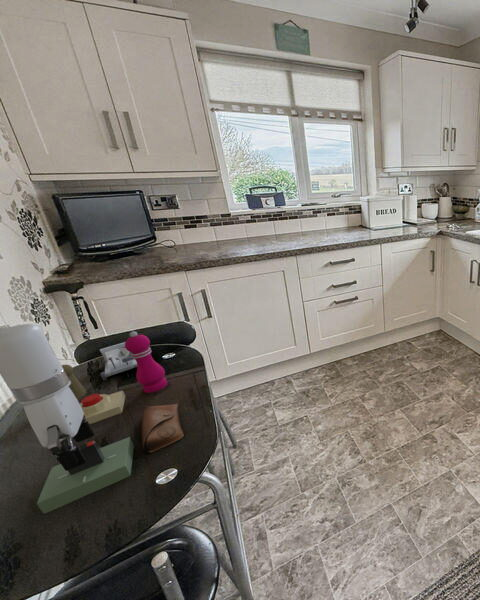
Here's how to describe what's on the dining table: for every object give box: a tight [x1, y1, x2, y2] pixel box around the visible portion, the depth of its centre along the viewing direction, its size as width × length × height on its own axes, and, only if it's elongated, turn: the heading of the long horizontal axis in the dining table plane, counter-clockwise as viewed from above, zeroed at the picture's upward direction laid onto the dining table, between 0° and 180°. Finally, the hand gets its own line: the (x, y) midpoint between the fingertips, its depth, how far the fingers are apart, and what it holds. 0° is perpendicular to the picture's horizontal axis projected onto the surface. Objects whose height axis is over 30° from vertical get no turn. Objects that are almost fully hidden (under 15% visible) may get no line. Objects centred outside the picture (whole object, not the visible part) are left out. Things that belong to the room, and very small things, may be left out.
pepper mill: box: [125, 330, 168, 394], centre depth 102 cm, size 7×7×20 cm
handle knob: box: [68, 440, 104, 475], centre depth 71 cm, size 6×2×5 cm, turn 125°
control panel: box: [36, 436, 135, 515], centre depth 72 cm, size 14×11×3 cm
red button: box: [80, 393, 102, 407], centre depth 93 cm, size 4×4×2 cm
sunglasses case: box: [141, 403, 185, 454], centre depth 86 cm, size 18×7×7 cm
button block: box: [79, 390, 126, 425], centre depth 94 cm, size 12×10×4 cm
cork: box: [61, 364, 88, 400], centre depth 102 cm, size 6×6×11 cm
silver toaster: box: [99, 341, 138, 382], centre depth 117 cm, size 18×10×12 cm
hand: (81, 451), depth 70 cm, fingers open, 9 cm apart
